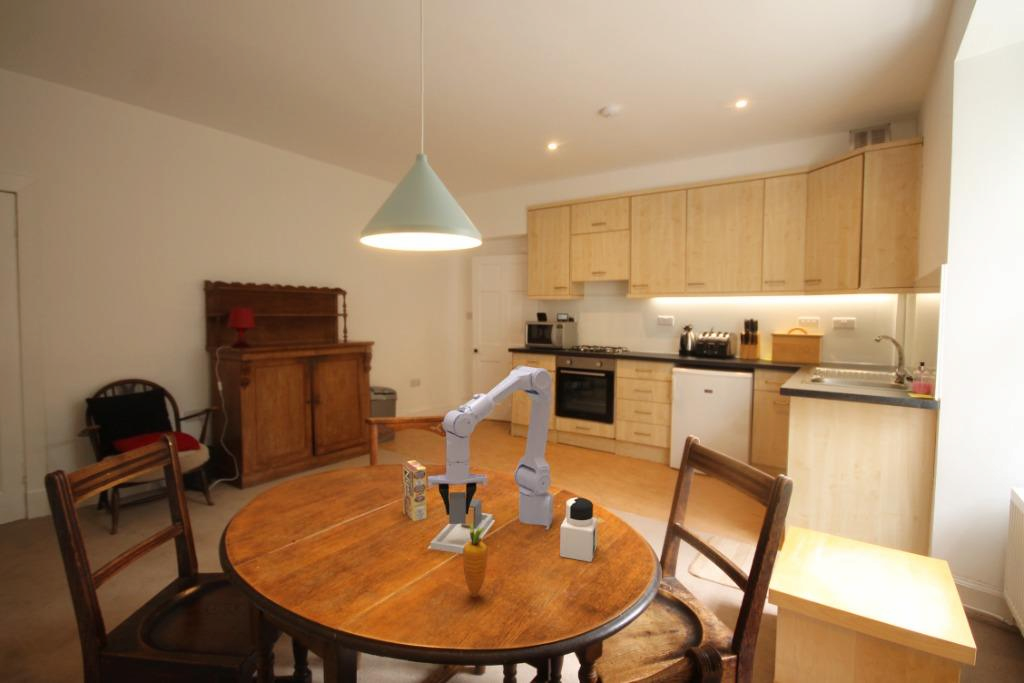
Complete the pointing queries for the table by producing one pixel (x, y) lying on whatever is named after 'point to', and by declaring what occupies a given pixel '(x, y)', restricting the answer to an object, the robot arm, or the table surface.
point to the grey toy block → (474, 514)
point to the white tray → (459, 535)
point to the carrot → (475, 561)
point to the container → (578, 530)
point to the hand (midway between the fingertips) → (457, 512)
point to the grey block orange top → (457, 508)
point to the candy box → (414, 490)
